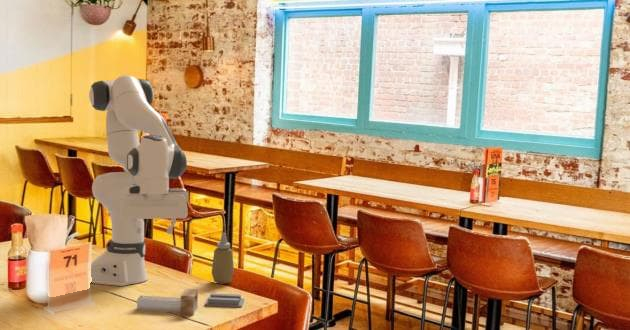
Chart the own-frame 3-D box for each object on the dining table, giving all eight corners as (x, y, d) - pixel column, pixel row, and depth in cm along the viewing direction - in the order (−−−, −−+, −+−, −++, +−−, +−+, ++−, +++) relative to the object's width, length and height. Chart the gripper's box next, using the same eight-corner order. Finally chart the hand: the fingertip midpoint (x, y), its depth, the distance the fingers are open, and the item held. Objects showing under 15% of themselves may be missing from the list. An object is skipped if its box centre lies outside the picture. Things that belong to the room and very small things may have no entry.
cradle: (204, 305, 241) (204, 299, 241) (208, 298, 249) (208, 292, 249) (241, 307, 241) (241, 301, 241) (244, 300, 249) (244, 294, 249)
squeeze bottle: (229, 286, 265) (231, 236, 263) (208, 283, 267) (209, 234, 265) (236, 280, 273) (238, 232, 271) (215, 278, 275) (216, 230, 273)
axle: (137, 311, 234) (137, 298, 233) (140, 307, 237) (140, 295, 237) (193, 314, 233) (194, 302, 233) (196, 310, 237) (196, 298, 236)
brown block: (180, 314, 231) (180, 295, 231) (184, 306, 239) (185, 288, 238) (193, 315, 231) (193, 296, 231) (197, 307, 239) (197, 289, 238)
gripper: (187, 187, 233) (187, 232, 233) (119, 188, 227) (119, 233, 227) (189, 188, 227) (189, 233, 227) (120, 188, 221) (120, 235, 221)
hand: (153, 233), depth 227 cm, fingers open, 8 cm apart
